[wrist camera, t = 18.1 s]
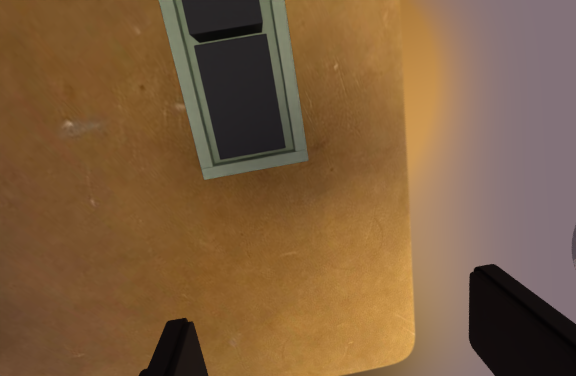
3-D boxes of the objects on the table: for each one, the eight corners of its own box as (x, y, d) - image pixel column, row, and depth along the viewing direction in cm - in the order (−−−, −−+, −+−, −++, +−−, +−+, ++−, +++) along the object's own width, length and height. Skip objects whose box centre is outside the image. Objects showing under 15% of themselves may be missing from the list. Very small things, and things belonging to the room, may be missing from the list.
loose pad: (202, 52, 26) (193, 45, 22) (264, 41, 26) (266, 33, 22) (224, 150, 28) (220, 160, 24) (282, 140, 29) (285, 148, 25)
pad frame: (140, -93, 23) (131, -107, 22) (264, -112, 24) (265, -127, 22) (206, 175, 29) (203, 180, 28) (305, 157, 30) (308, 160, 28)
